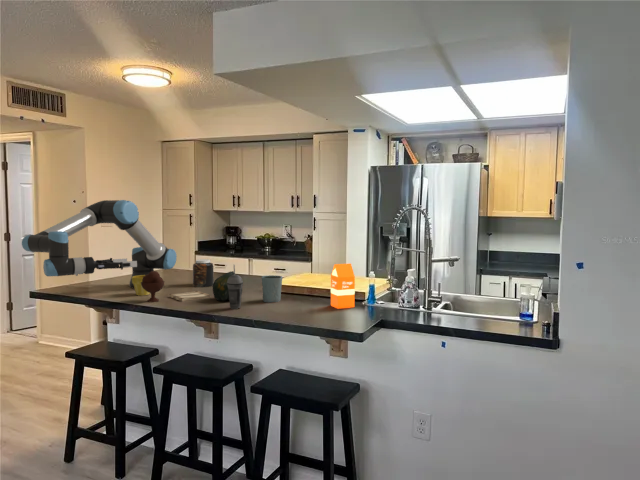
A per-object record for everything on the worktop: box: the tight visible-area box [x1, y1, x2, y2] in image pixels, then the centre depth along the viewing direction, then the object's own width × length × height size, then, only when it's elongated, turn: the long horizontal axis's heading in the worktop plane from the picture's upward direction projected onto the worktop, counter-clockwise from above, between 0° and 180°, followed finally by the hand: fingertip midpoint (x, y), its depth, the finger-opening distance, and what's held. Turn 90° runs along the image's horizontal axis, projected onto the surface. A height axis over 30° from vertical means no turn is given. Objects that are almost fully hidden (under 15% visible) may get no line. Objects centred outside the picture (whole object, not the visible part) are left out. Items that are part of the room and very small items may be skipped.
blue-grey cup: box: [261, 274, 283, 303], centre depth 240 cm, size 10×10×12 cm
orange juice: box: [330, 262, 356, 310], centre depth 226 cm, size 8×9×20 cm
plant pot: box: [132, 275, 151, 297], centre depth 255 cm, size 10×10×10 cm
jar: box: [192, 258, 215, 288], centre depth 284 cm, size 12×12×15 cm
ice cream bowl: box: [141, 270, 165, 303], centre depth 238 cm, size 11×11×15 cm
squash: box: [212, 270, 243, 302], centre depth 242 cm, size 14×15×15 cm
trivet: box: [169, 290, 211, 302], centre depth 248 cm, size 15×15×2 cm
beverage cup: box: [227, 264, 244, 310], centre depth 222 cm, size 7×7×20 cm
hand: (131, 262), depth 231 cm, fingers open, 13 cm apart
